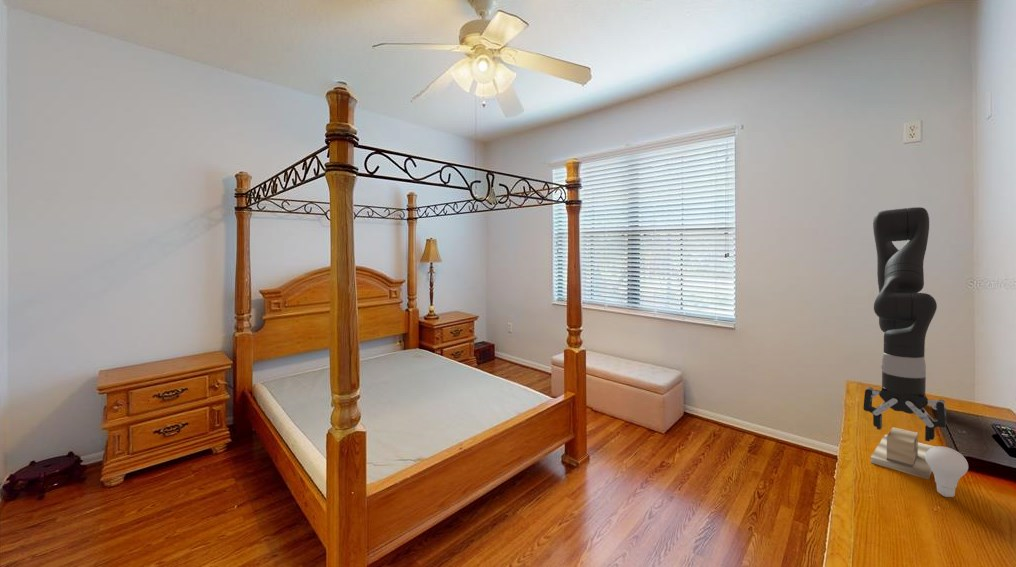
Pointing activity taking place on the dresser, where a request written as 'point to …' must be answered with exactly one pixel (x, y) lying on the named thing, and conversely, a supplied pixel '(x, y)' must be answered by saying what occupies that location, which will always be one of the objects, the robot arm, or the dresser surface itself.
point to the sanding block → (902, 446)
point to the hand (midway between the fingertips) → (902, 434)
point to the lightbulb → (946, 468)
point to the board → (918, 469)
